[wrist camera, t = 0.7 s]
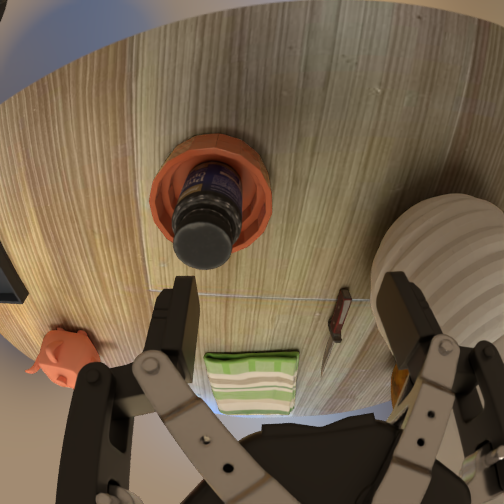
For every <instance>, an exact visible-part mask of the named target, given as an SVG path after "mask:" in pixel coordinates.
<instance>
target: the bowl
mask: <svg viewBox="0 0 504 504" xmlns="http://www.w3.org/2000/svg"><path fill="white" fill-rule="evenodd" d="M211 160H213V161H221V162H224V163H227V164H228V165H230V166H231V167H233V168H234V169H235V170H236V172H237V173H238V174H239V176H240V178H241V182H242V228H241V233H240V236H239V238H238V239H237V241H236V242H235V243H234V244H233V246H232V253H234V252H236V251H239V250H241V249H244V248H246V247H248V246H249V245H251V244H252V243H253V242H254V241H255V240H256V239H257V238H258V237H259V236H260V235H261V234H262V233H263V232H264V231H265V228H266V226H267V224H268V222H269V219H270V217H271V215H272V192H271V186H270V181H269V175H268V171H267V169H266V167H265V165H264V163H263V161H262V159H261V157H260V155H259V154H258V153H257V152H256V151H255V150H253V149H252V148H251V147H250V146H249V145H247V144H246V143H245V142H244V141H242V140H241V139H237V138H234V137H231V136H227V135H224V134H220V133H215V134H205V135H197V136H194V137H192V138H190V139H188V140H187V141H185V142H183V143H181V144H179V145H177V146H176V147H175V149H174V150H173V151H172V153H171V154H170V155H169V156H168V158H167V159H166V160H165V162H164V163H163V165H162V167H161V168H160V170H159V171H158V173H157V175H156V176H155V178H154V180H153V183H152V188H151V193H150V198H149V204H150V208H151V212H152V216H153V220H154V222H155V224H156V225H157V226H158V228H159V229H160V230H161V232H162V233H163V234H164V236H165V237H166V238H167V239H168V240H169V241H171V242H173V239H174V232H173V229H172V215H173V212H174V209H175V207H176V204H177V201H178V198H179V196H180V193H181V190H182V188H183V185H184V183H185V180H186V178H187V176H188V174H189V172H190V171H191V170H192V169H193V168H194V167H195V166H196V165H198V164H199V163H202V162H206V161H211Z"/></svg>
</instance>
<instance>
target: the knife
mask: <svg viewBox="0 0 504 504" xmlns="http://www.w3.org/2000/svg"><path fill="white" fill-rule="evenodd" d="M351 301H352V298H351V295H350V292H349V290H340V293H339V296H338V301H337V305H336V308H335V311H334V315H333V317H332V320H329V321H328V327H329V331H330V337H329V340H328V343H327V346H326V349H325V353H324V357H323V361H322V368H321V377H322V374H323V371H324V369H325V366H326V363H327V360H328V358H329V355H330V353H331V350H332V348H333V345H334V343H340V342H341V341H342V339H341V329H342V327H343V324H344V321H345V318H346V316H347V312H348V310H349V307H350V304H351Z"/></svg>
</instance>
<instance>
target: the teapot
mask: <svg viewBox="0 0 504 504" xmlns="http://www.w3.org/2000/svg"><path fill="white" fill-rule="evenodd" d="M91 362H100V356H99V354H98V352H97V351H96V349H95V347H94V345H93V344H92V342H91V341H90V339H89V338H88V337H87V333H86V332H84V331H82V330H78V332H77V333H73V332H67V331H65V330H64V329H62V328H60V327H58V328H57V331H55V330H54V331H49V332H48V333H47V334H46V335H45V337H44V339H43V342H42V345H41V349H40V353H39V355H38V357H37V359H36V361H35V363H34V365H33V366H32V367H31V368H30V369H28V370H26V371H25V372H27V373H30V374H33V373H35V372H37V371H38V370H39V369H40V368H42V370H43V371H44V372H45V374H46V375H47V376H48V377H49V378H50V379H51V381H52V382H54V383H56V384H58V385H60V386H62V387H70V388H73V389H74V387H75V383H76V379H77V375H78V373H79V371H80V370H81V368H82V367H83V366H85V365H86V364H88V363H91Z"/></svg>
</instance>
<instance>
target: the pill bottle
mask: <svg viewBox="0 0 504 504" xmlns="http://www.w3.org/2000/svg"><path fill="white" fill-rule="evenodd" d="M241 228H242V182H241V178H240V176H239V174H238V173H237V172H236V170H235V169H234V168H233V167H231V166H230V165H228V164H227V163H224V162H221V161H213V160H211V161H206V162H202V163H199V164H198V165H196V166H195V167H194V168H193V169H192V170H191V171H190V172H189V174H188V176H187V178H186V180H185V183H184V185H183V188H182V190H181V193H180V196H179V198H178V201H177V204H176V207H175V209H174V212H173V215H172V229H173V232H174V239H173V248H174V251H175V253H176V255H177V257H178V258H179V259H180V260H181V261H182V262H183V263H184V264H186V265H188V266H190V267H192V268H195V269H201V270H209V269H214V268H217V267H219V266H221V265H223V264H224V263H225V262H226V261H227V260H228V259H229V257H230V255H231V253H232V246H233V244H234V243H235V242H236V241H237V239H238V238H239V236H240V233H241Z"/></svg>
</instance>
